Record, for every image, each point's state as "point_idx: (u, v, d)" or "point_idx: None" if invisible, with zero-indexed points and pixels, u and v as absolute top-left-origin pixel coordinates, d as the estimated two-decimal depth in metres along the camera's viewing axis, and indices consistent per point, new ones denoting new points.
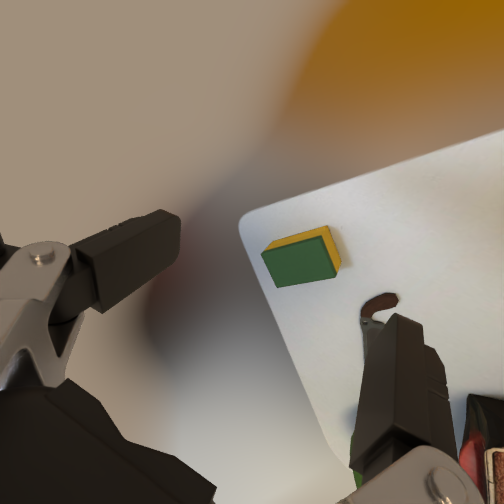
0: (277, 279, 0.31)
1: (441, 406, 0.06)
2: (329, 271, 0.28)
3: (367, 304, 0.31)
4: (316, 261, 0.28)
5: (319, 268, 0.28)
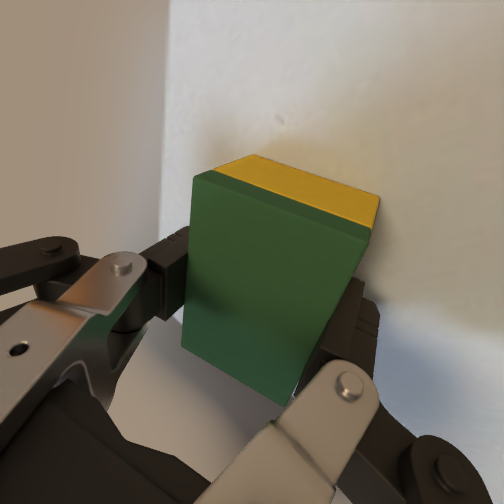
0: (260, 383, 0.10)
1: (369, 341, 0.07)
2: (326, 242, 0.06)
3: None
4: (263, 249, 0.07)
5: (292, 262, 0.07)
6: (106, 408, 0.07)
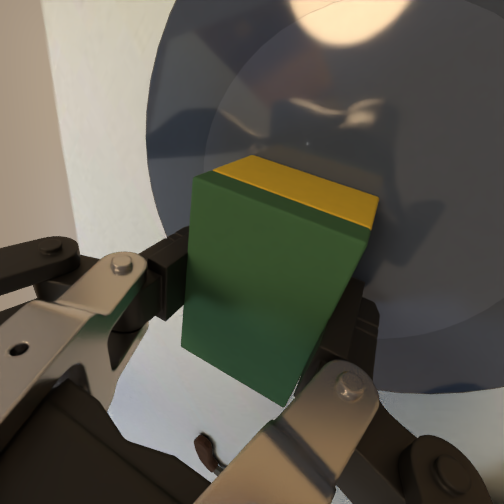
0: (260, 383, 0.10)
1: (368, 341, 0.07)
2: (326, 242, 0.06)
3: (199, 457, 0.26)
4: (262, 250, 0.07)
5: (292, 263, 0.07)
6: (105, 408, 0.07)
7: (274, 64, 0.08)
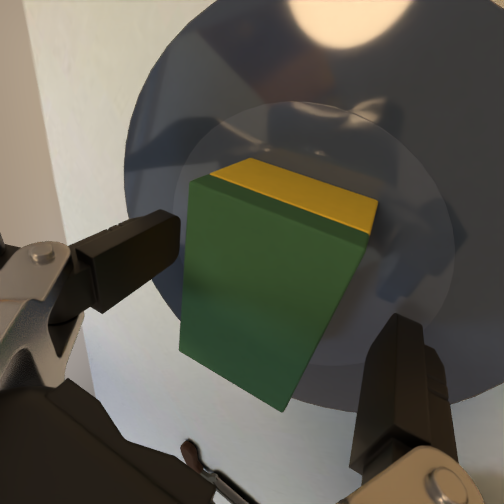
0: (258, 388, 0.10)
1: (441, 406, 0.06)
2: (323, 248, 0.06)
3: (185, 461, 0.28)
4: (259, 255, 0.07)
5: (289, 268, 0.07)
6: None
7: (223, 143, 0.10)
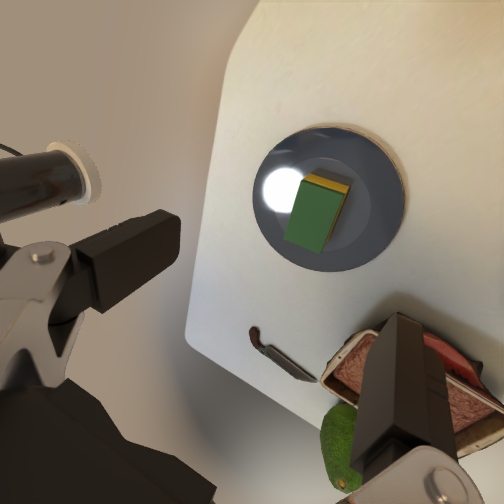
0: (312, 246, 0.30)
1: (441, 406, 0.06)
2: (334, 196, 0.27)
3: None
4: (318, 199, 0.28)
5: (325, 202, 0.27)
6: None
7: (300, 168, 0.31)
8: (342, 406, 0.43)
